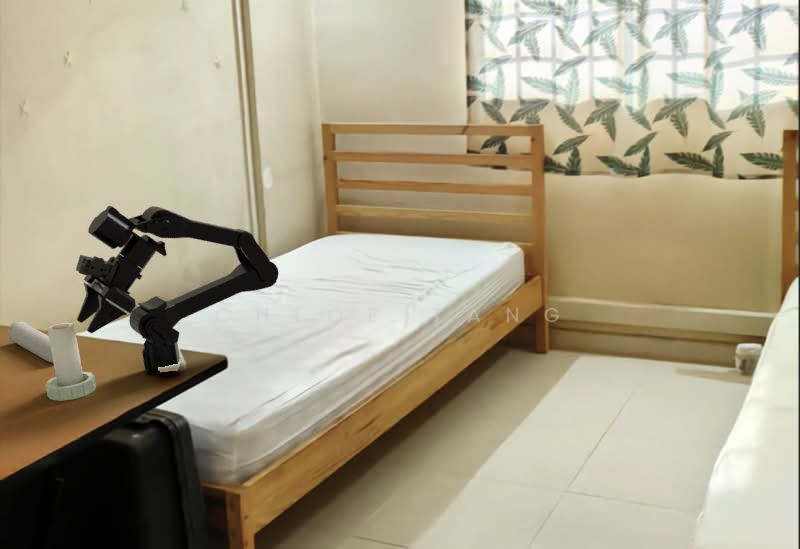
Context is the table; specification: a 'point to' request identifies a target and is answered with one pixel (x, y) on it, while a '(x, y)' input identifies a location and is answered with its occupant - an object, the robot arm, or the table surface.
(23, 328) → the tube
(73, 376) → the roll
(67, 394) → the holder
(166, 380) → the table surface
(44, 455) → the table surface
